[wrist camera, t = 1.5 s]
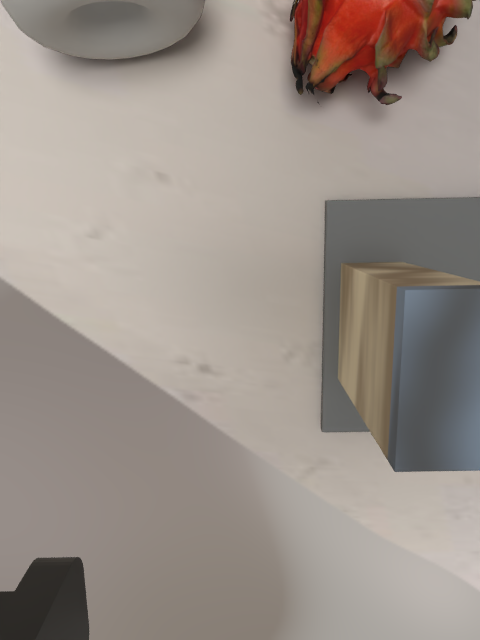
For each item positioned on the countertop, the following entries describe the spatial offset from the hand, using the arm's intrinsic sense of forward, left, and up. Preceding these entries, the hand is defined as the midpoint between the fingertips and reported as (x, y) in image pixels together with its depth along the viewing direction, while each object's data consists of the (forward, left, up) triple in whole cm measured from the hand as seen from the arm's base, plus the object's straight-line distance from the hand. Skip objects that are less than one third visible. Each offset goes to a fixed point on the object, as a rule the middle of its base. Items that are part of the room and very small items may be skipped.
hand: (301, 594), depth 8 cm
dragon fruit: (-7, -18, -24) cm, 31 cm away
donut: (+7, -18, -24) cm, 31 cm away
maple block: (-8, 0, -23) cm, 24 cm away
